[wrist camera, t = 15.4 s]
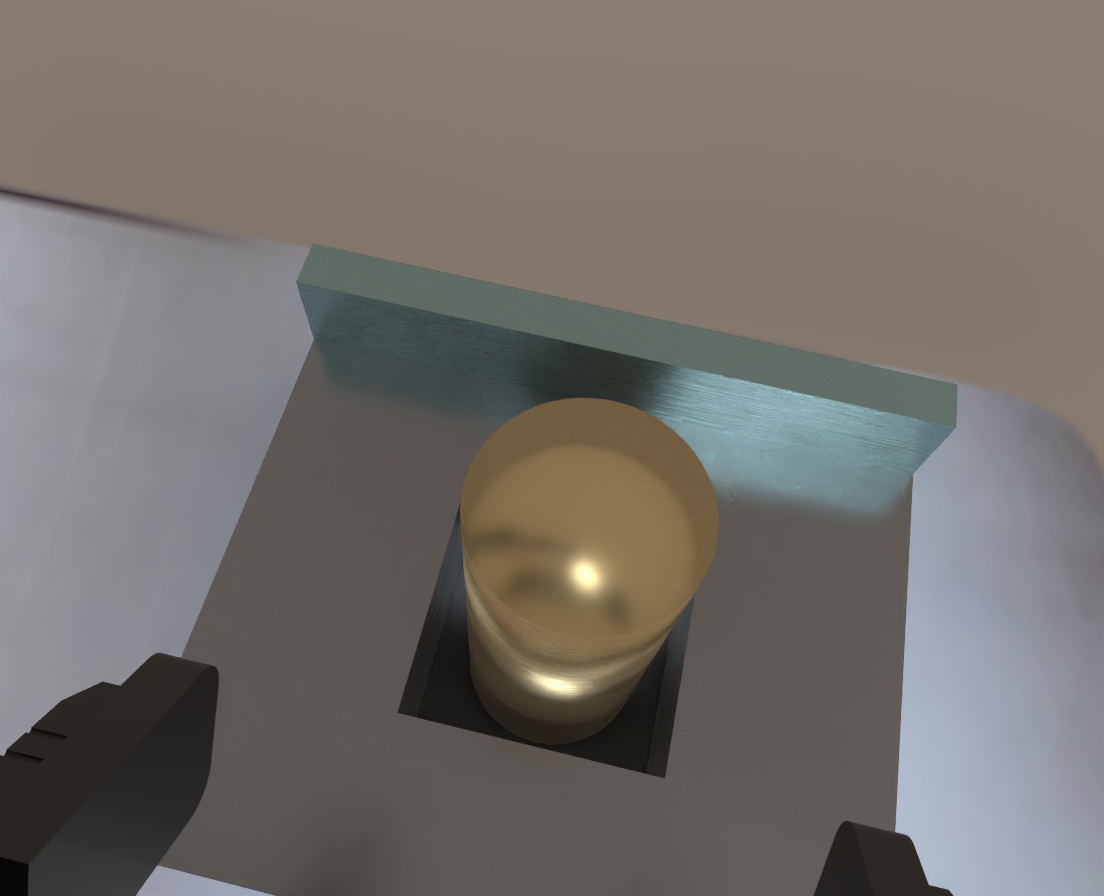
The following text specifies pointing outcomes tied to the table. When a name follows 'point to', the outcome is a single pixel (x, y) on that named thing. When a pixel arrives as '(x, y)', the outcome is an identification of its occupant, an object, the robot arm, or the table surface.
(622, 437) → the brass cylinder
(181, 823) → the robot arm
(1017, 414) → the table surface
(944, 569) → the table surface
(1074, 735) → the table surface
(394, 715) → the jig
